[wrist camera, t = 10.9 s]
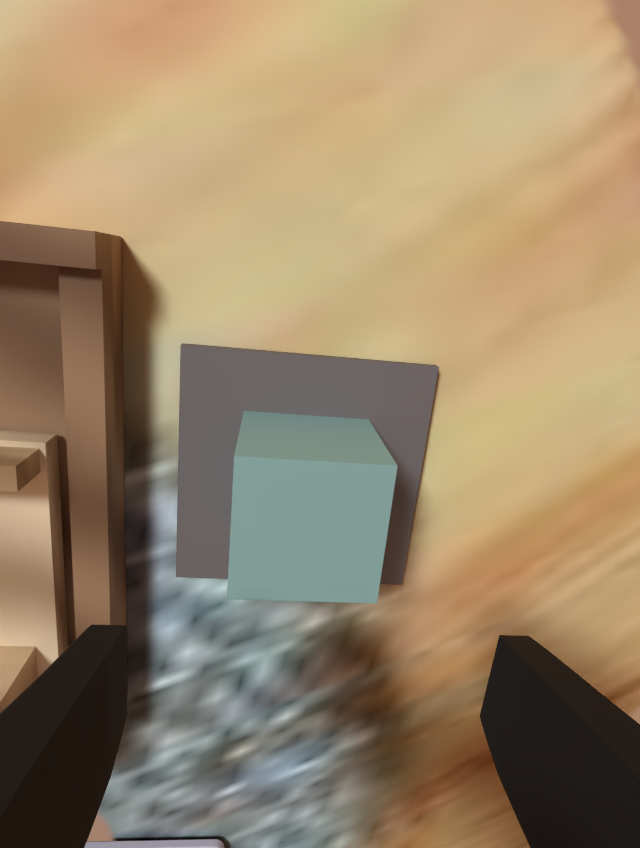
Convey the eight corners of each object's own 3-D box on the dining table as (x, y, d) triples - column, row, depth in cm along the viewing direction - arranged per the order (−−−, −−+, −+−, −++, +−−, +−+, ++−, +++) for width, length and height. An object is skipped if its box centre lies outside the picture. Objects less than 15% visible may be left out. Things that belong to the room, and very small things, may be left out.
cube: (354, 530, 20) (376, 603, 15) (237, 524, 19) (227, 599, 15) (368, 419, 18) (397, 465, 14) (243, 410, 18) (234, 456, 13)
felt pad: (399, 578, 21) (402, 584, 20) (178, 570, 20) (176, 576, 19) (435, 365, 18) (439, 367, 18) (183, 343, 17) (180, 345, 17)
